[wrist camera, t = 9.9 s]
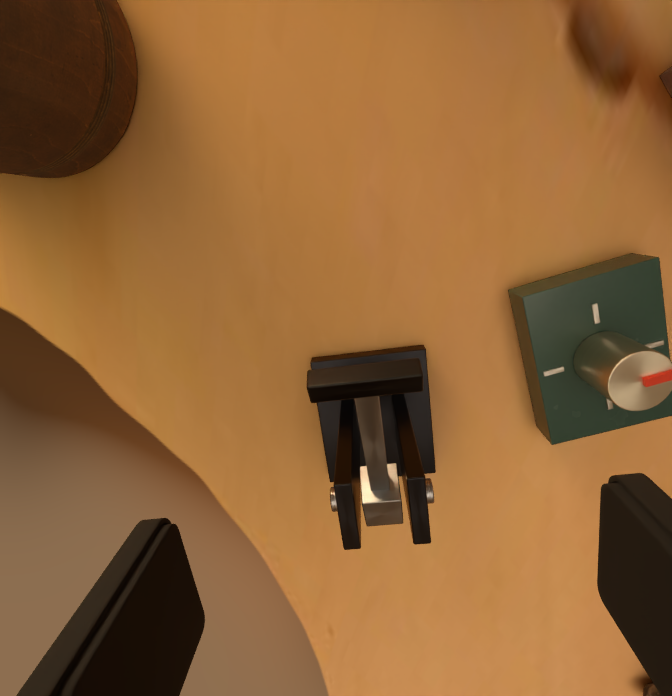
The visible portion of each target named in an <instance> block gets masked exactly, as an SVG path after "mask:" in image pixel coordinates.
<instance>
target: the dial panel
mask: <svg viewBox="0 0 672 696" xmlns="http://www.w3.org/2000/svg"><path fill="white" fill-rule="evenodd" d="M508 292H509V297H510V301H511V306H512V311H513V316H514V320H515V325H516V330H517V335H518V340H519V344H520V349H521V354H522V359H523V363H524V368H525V373H526V378H527V383H528V387H529V392H530V397H531V402H532V406H533V411H534V416H535V421H536V426H537V427H538V429H539V430H540V431H541V432H542V433H543V435H544V436H545V437H546V438H547V439H548V441H549V442H550V443H551V444H552V445H554V444H558V443H562V442H566V441H570V440H574V439H578V438H582V437H586V436H590V435H595V434H599V433H603V432H607V431H611V430H615V429H619V428H623V427H627V426H631V425H635V424H640V423H644V422H648V421H652V420H656V419H660V418H664V417H668V416H672V391H671V392H670V394H669V395H668V396H667V397H666V398H665V399H664V400H663V401H662V402H661V403H659V404H658V405H656V406H654V407H652V408H650V409H647V410H642V411H629V410H625V409H622V408H620V407H618V406H617V405H615V404H614V403H613V402H611V401H610V400H609V399H607V398H606V397H605V396H603V395H602V394H601V393H599V392H598V391H597V390H595V389H594V388H593V387H591V386H590V385H589V384H587V383H586V382H585V381H583V380H582V379H581V378H580V377H579V376H578V375H577V373H576V371H575V369H574V355H575V352H576V350H577V348H578V347H579V345H580V344H581V343H582V342H583V341H584V340H585V339H586V338H588V337H589V336H591V335H593V334H596V333H599V332H605V331H611V332H616V333H619V334H621V335H623V336H625V337H627V338H630V339H632V340H634V341H636V342H638V343H640V344H642V345H645V346H647V347H649V348H651V349H653V350H655V351H658V352H660V353H662V354H664V355H665V356H667V357H668V358H669V359H670V355H669V345H668V336H667V327H666V317H665V308H664V299H663V289H662V280H661V271H660V261H659V257H654V256H647V255H641V254H634V253H631V254H627V255H624V256H621V257H617V258H614V259H611V260H607V261H604V262H600V263H597V264H594V265H590V266H587V267H583V268H580V269H577V270H573V271H570V272H567V273H563V274H560V275H556V276H553V277H550V278H546V279H543V280H540V281H536V282H533V283H529V284H526V285H523V286H519V287H516V288H513V289H509V290H508Z"/></svg>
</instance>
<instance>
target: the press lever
mask: <svg viewBox="0 0 672 696" xmlns="http://www.w3.org/2000/svg"><path fill="white" fill-rule="evenodd" d="M307 390H308V394H309V397H310V401H311V403H318V402H328V401H337V400H346V399H354V400H355V405H356V411H357V416H358V422H359V428H360V433H361V439H362V445H363V450H364V456H365V461H366V466H361V467H360V481H361V497H362V506H363V511H364V516H365V520H366V525H367V526H378V525H390V524H402V523H403V513H402V501H401V493H400V486H399V479H398V471H397V464H396V463H393V464H387V459H386V450H385V442H384V433H383V425H382V417H381V408H380V400H379V396H384V395H393V394H402V393H412V392H421V391H423V372H422V367H421V363H420V359H419V358H412V359H403V360H395V361H386V362H377V363H368V364H359V365H351V366H342V367H333V368H324V369H316V370H309V371H308V372H307Z"/></svg>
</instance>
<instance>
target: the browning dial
mask: <svg viewBox="0 0 672 696" xmlns="http://www.w3.org/2000/svg"><path fill="white" fill-rule="evenodd" d="M574 369H575V371H576V373H577V375H578V376H579V377H580V378H581V379H582V380H583V381H585V382H586V383H587V384H589V385H590V386H591V387H593V388H594V389H595V390H597V391H598V392H599V393H601V394H602V395H603V396H605V397H606V398H607V399H609V400H610V401H611V402H613V403H614V404H615V405H617V406H618V407H620V408H622V409H625V410H629V411H642V410H647V409H650V408H652V407H654V406H656V405H658V404H659V403H661V402H662V401H663V400H664V399H665V398H666V397H667V396H668V395H669V394H670V392H671V391H672V362H671V360H670V359H669V358H668V357H667V356H665V355H664V354H662V353H660V352H658V351H655V350H653V349H651V348H649V347H647V346H645V345H642V344H640V343H638V342H636V341H634V340H632V339H630V338H627V337H625V336H623V335H621V334H619V333H616V332H611V331H605V332H599V333H596V334H593V335H591V336H589V337H588V338H586V339H585V340H584V341H583V342H582V343H581V344H580V345H579V347H578V348H577V350H576V352H575V355H574Z"/></svg>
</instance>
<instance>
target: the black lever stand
mask: <svg viewBox="0 0 672 696" xmlns="http://www.w3.org/2000/svg"><path fill="white" fill-rule="evenodd" d="M412 358H419V359H420V363H421V367H422V372H423V391H421V392H412V393H402V394H393V395H384V396H379V400H380V408H381V417H382V425H383V433H384V442H385V450H386V459H387V464H393V463H396V464H397V471H398V476H402V479H403V485H404V491H405V497H406V502H407V508H408V514H409V520H410V526H411V532H412V538H413V543H414V544H427V543H431V536H430V525H429V514H428V504H430V503H434V493H433V486H432V482H431V479H430V478H427V479H425V475H424V474H427V473H435V472H436V470H435V458H434V446H433V433H432V421H431V409H430V396H429V384H428V371H427V359H426V349H425V347H424V345H419V346H410V347H402V348H393V349H384V350H376V351H367V352H359V353H350V354H341V355H333V356H324V357H316V358H312V360H311V369H312V370H316V369H324V368H333V367H342V366H351V365H359V364H368V363H377V362H386V361H395V360H403V359H412ZM317 406H318V412H319V418H320V424H321V430H322V436H323V442H324V448H325V455H326V461H327V467H328V473H329V479H330V482H334V487H331V489H330V502H331V508H332V511H333V512H335V511H338V516H339V522H340V529H341V535H342V541H343V547H344V550H349V549H360V548H361V504H360V467H361V466H366V461H365V456H364V450H363V445H362V439H361V433H360V428H359V422H358V416H357V411H356V405H355V400H354V399H346V400H337V401H328V402H318V403H317Z"/></svg>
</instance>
